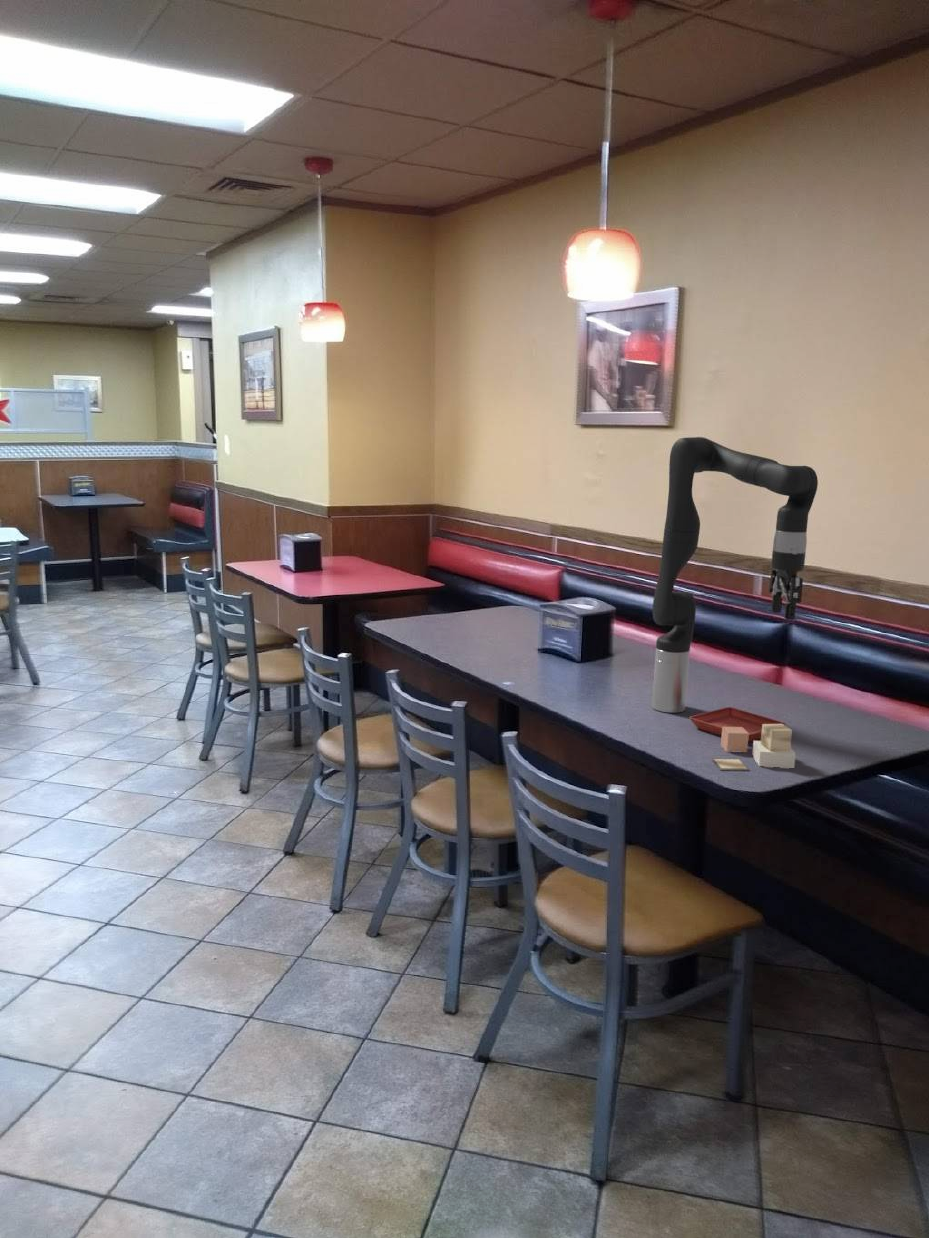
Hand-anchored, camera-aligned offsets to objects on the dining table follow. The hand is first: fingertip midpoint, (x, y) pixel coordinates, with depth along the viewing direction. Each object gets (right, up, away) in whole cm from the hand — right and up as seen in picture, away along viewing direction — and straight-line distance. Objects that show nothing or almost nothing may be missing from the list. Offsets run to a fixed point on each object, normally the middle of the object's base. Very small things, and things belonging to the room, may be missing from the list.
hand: (782, 615), depth 225 cm
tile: (-15, -35, -9) cm, 39 cm away
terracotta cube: (-11, -33, +3) cm, 35 cm away
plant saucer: (-6, -31, +18) cm, 36 cm away
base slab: (-4, -35, -5) cm, 36 cm away
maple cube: (-4, -31, -6) cm, 32 cm away
